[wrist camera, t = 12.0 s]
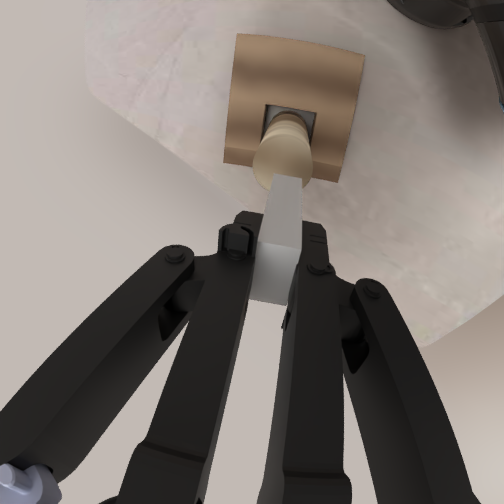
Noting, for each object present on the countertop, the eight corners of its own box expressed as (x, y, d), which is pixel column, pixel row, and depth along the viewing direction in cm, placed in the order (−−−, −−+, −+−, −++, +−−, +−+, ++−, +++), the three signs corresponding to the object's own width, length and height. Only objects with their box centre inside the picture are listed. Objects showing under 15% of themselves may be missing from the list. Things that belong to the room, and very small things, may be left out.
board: (241, 36, 28) (237, 33, 25) (359, 56, 27) (364, 55, 24) (228, 155, 37) (223, 162, 34) (334, 174, 36) (337, 182, 34)
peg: (272, 107, 32) (255, 133, 20) (309, 113, 32) (319, 144, 19) (267, 141, 35) (248, 189, 22) (303, 147, 35) (307, 200, 22)
